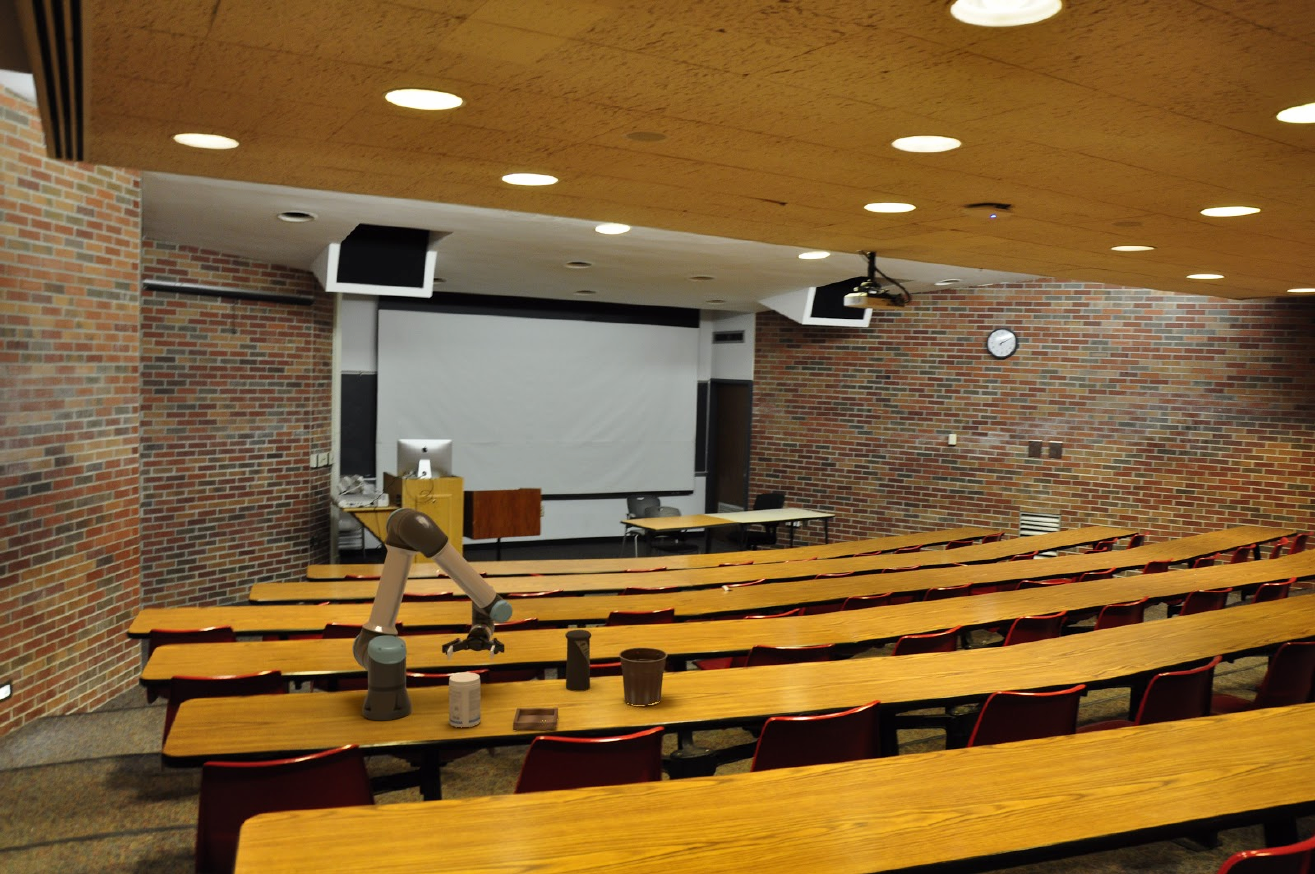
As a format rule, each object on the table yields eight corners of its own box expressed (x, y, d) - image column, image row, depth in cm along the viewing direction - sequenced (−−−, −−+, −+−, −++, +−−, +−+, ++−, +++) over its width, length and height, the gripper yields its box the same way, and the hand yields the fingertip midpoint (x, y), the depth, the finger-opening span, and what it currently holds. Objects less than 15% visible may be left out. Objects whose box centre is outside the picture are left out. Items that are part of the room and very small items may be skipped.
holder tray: (513, 730, 281) (513, 722, 281) (517, 716, 294) (517, 708, 294) (556, 730, 282) (556, 722, 282) (558, 715, 295) (558, 708, 295)
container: (586, 692, 319) (587, 635, 318) (561, 690, 321) (562, 633, 320) (593, 685, 327) (594, 629, 326) (569, 683, 329) (569, 627, 328)
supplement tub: (477, 716, 293) (478, 671, 292) (482, 727, 284) (483, 679, 284) (446, 720, 290) (447, 673, 289) (450, 730, 281) (451, 682, 280)
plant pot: (657, 712, 300) (658, 663, 299) (611, 706, 305) (611, 658, 304) (672, 697, 315) (673, 650, 315) (628, 691, 320) (628, 645, 320)
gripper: (515, 648, 318) (509, 666, 297) (442, 648, 316) (430, 667, 295) (515, 626, 318) (509, 643, 296) (442, 627, 316) (430, 644, 295)
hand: (469, 655), depth 296 cm, fingers open, 13 cm apart
